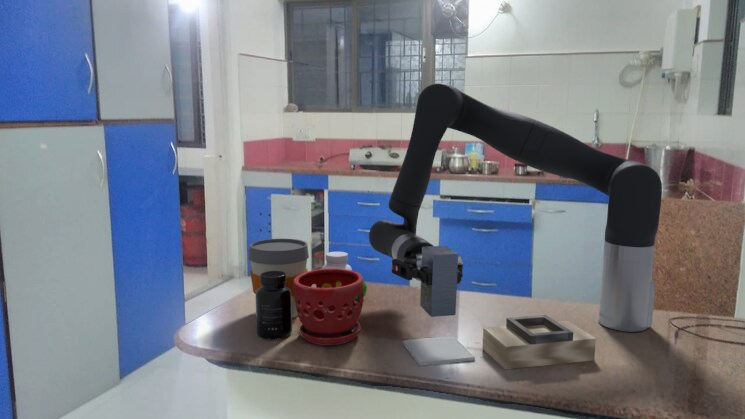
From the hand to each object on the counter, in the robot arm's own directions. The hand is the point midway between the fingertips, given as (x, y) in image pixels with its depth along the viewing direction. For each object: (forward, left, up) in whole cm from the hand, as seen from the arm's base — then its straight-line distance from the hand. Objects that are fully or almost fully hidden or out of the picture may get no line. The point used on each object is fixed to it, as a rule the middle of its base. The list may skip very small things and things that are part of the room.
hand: (444, 279), depth 99 cm
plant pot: (+18, -14, -14) cm, 27 cm away
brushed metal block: (0, -3, -6) cm, 7 cm away
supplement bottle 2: (+14, -28, -14) cm, 34 cm away
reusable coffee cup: (+26, -30, -14) cm, 42 cm away
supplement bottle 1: (+28, -18, -14) cm, 36 cm away
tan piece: (-17, +2, -14) cm, 22 cm away
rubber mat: (0, -3, -14) cm, 14 cm away
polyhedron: (+8, -36, -14) cm, 39 cm away
